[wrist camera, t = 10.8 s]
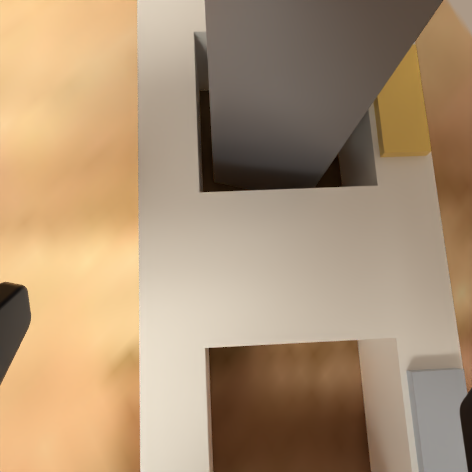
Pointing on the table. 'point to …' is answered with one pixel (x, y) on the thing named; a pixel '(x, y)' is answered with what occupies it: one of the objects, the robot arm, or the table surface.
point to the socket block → (290, 264)
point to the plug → (298, 81)
